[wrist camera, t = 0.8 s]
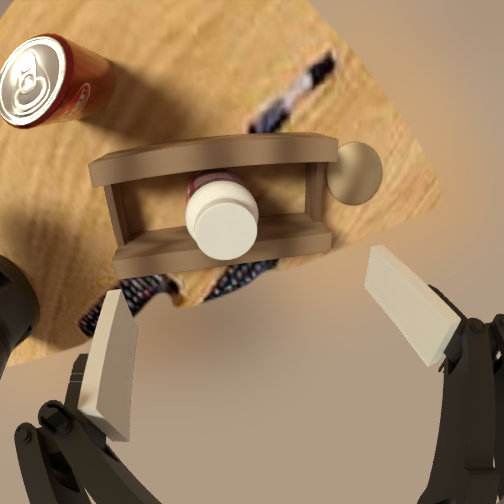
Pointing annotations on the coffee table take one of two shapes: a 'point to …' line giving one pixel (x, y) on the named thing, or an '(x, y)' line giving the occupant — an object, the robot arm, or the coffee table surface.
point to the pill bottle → (221, 213)
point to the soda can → (53, 82)
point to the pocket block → (210, 157)
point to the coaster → (354, 173)
